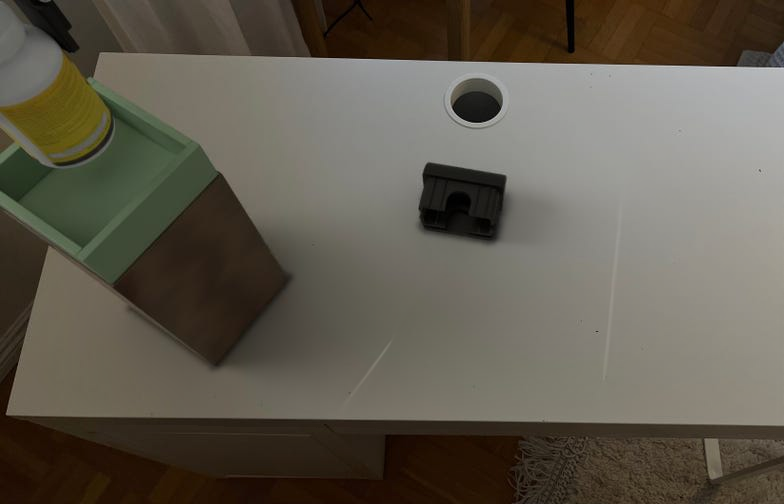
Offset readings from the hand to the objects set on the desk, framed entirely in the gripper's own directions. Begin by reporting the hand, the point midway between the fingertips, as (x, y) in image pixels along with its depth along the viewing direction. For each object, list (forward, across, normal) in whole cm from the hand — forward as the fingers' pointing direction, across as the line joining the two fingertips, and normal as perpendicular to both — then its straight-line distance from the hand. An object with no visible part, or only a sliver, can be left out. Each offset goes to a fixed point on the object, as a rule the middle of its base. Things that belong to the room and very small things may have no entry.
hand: (18, 75), depth 44 cm
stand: (+38, 0, 0) cm, 38 cm away
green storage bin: (+14, +1, 0) cm, 14 cm away
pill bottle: (+7, 0, 0) cm, 7 cm away
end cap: (+39, -26, +19) cm, 50 cm away
